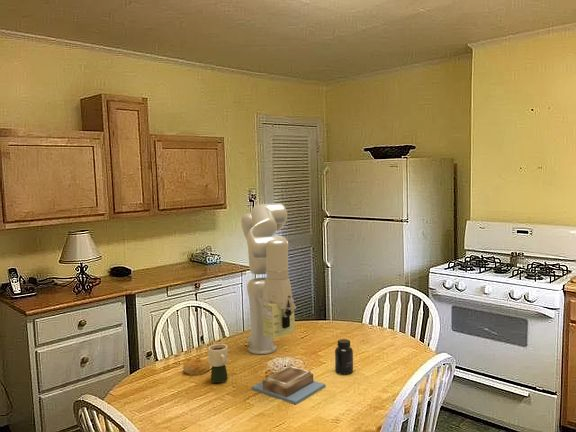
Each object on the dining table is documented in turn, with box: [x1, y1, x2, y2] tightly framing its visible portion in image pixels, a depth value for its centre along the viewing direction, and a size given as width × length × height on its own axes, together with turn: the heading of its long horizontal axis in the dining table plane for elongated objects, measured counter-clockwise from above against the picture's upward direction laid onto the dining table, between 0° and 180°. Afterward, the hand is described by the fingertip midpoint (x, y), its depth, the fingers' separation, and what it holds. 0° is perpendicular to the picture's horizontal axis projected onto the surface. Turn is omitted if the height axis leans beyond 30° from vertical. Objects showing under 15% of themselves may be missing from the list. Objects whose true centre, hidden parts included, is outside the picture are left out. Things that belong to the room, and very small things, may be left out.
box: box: [262, 298, 296, 340], centre depth 175 cm, size 10×6×12 cm, turn 133°
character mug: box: [207, 343, 229, 383], centre depth 185 cm, size 11×7×13 cm, turn 31°
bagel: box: [182, 358, 211, 376], centre depth 196 cm, size 10×11×5 cm
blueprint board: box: [251, 380, 326, 406], centre depth 178 cm, size 20×17×1 cm
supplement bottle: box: [334, 338, 354, 375], centre depth 191 cm, size 7×7×12 cm
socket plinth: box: [262, 365, 315, 397], centre depth 177 cm, size 11×15×4 cm
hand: (278, 325), depth 175 cm, fingers closed on box, 6 cm apart
